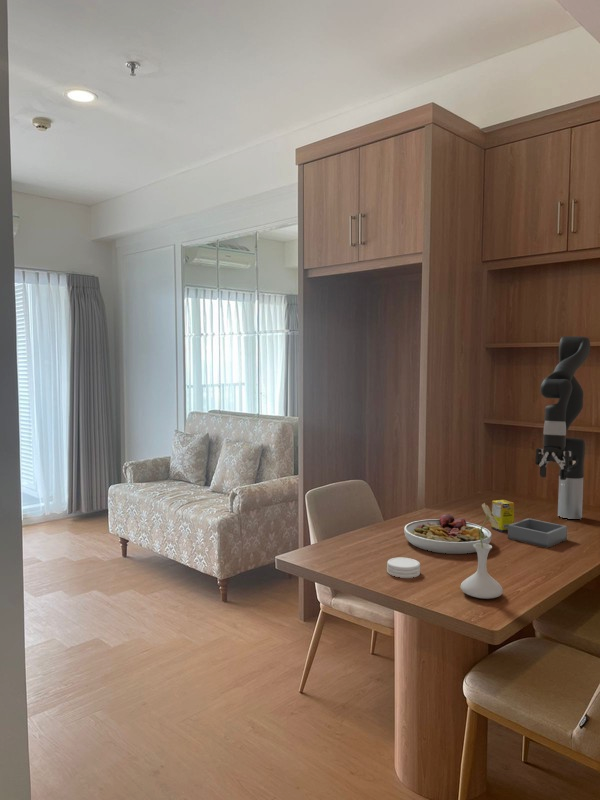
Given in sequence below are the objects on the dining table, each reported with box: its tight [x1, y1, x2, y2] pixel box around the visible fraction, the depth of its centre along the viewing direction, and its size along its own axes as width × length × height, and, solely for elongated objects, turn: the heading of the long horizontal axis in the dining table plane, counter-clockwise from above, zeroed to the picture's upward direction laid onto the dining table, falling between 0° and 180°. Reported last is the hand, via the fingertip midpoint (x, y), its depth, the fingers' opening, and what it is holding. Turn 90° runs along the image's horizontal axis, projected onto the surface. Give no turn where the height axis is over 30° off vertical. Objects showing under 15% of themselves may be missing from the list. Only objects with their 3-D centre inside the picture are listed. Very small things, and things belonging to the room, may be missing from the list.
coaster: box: [386, 556, 421, 579], centre depth 186 cm, size 10×10×4 cm
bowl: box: [403, 513, 492, 555], centre depth 217 cm, size 30×30×8 cm
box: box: [507, 517, 568, 549], centre depth 222 cm, size 15×15×5 cm
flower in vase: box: [460, 502, 504, 600], centre depth 169 cm, size 13×11×25 cm
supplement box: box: [490, 499, 515, 533], centre depth 235 cm, size 6×6×11 cm
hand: (552, 478), depth 222 cm, fingers open, 8 cm apart
